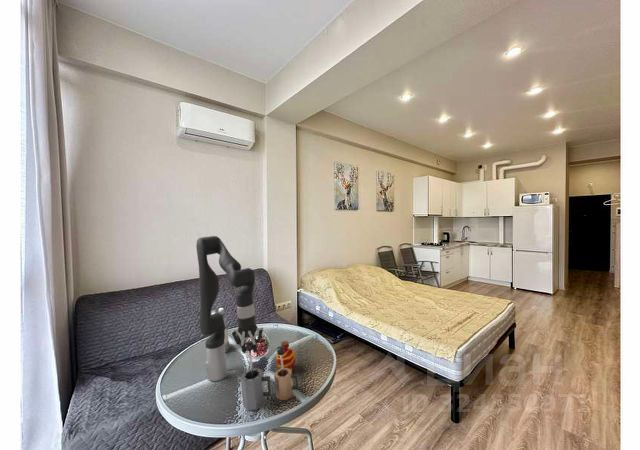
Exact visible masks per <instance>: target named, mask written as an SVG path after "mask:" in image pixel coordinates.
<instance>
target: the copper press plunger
mask: <svg viewBox="0 0 640 450" xmlns="http://www.w3.org/2000/svg"><path fill="white" fill-rule="evenodd" d="M276 352H277V353H276V355H277V354H278V355H280V358H281V368H282V376H284V368H283V358H282V355H283V354H284V353H285V349H284V346H281V345H280V346H277V348H276ZM281 368H280V369H281Z"/></svg>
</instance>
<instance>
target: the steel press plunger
mask: <svg viewBox="0 0 640 450" xmlns="http://www.w3.org/2000/svg"><path fill="white" fill-rule="evenodd" d="M245 351H246V352H248V358H249V361H248V362H249V369H250V371H251V379H254V377H253V369H254V367H253V359H252V351H253V343H252V340H247V341H245Z"/></svg>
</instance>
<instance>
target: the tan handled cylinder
mask: <svg viewBox="0 0 640 450" xmlns="http://www.w3.org/2000/svg"><path fill="white" fill-rule="evenodd" d="M273 375H274V376H273V377H274V389H275V397H276V398H277V399H278V400H280V401H287V400H288V399H290V398H292V397H293V395H294V390H295V391H297V390H298V391H299V389H300V388H299V387H300V385H299V383H300V382H299V374H298V373H293V370H292V371H291V370H290V369H288V368H284V376H282V368H279V369H277V370H275V372H274V374H273ZM293 379H295V385H294V383H293Z"/></svg>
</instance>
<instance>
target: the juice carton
mask: <svg viewBox="0 0 640 450" xmlns="http://www.w3.org/2000/svg"><path fill="white" fill-rule="evenodd" d="M214 313H220V314H221V315H222V317H223V319H224V329H225V339H224V343H225V352H226V353H229V350H230V342H229V341H230V340H229V333H228V330H229V329H228V322H227V315H226V312H225V308H223V307H220V308H217V309H214V310H211V315H212V314H214Z"/></svg>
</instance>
